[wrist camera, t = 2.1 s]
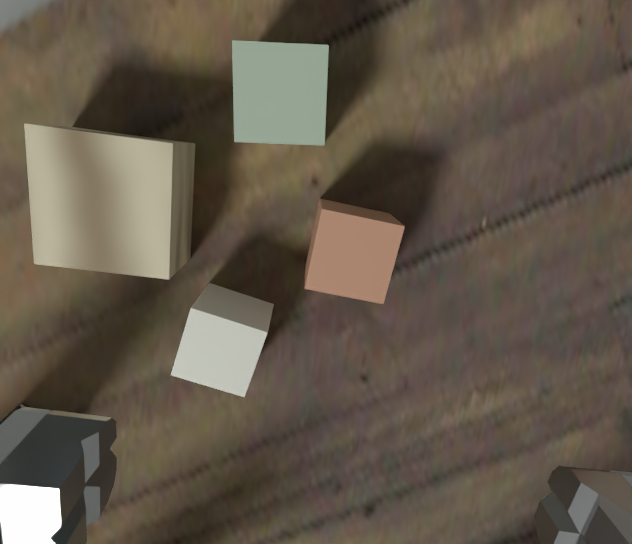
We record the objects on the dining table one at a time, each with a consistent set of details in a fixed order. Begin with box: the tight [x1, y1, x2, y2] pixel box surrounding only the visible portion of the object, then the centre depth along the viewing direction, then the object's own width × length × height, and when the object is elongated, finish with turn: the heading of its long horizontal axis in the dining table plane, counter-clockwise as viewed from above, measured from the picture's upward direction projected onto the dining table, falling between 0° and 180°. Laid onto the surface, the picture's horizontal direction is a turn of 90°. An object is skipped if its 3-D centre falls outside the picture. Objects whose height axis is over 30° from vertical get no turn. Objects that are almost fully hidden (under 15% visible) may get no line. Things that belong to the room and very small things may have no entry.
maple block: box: [24, 123, 195, 280], centre depth 26 cm, size 8×8×5 cm
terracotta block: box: [305, 199, 405, 304], centre depth 27 cm, size 5×5×5 cm
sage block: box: [232, 41, 329, 145], centre depth 25 cm, size 5×5×5 cm
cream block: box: [171, 283, 274, 397], centre depth 29 cm, size 5×5×5 cm
